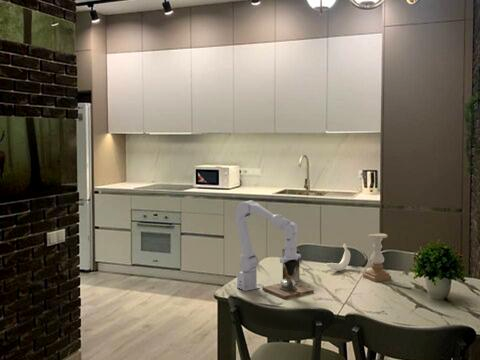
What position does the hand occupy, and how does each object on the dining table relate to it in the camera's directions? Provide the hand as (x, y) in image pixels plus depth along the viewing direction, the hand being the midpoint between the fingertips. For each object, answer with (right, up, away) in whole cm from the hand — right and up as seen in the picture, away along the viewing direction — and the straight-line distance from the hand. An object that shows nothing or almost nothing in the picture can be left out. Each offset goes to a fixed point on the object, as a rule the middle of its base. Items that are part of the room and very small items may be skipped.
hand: (290, 275), depth 253 cm
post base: (-1, -9, +5) cm, 10 cm away
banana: (+32, -6, +44) cm, 55 cm away
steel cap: (-1, -7, +2) cm, 7 cm away
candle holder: (+49, -7, +27) cm, 57 cm away
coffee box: (+3, -7, +26) cm, 28 cm away
